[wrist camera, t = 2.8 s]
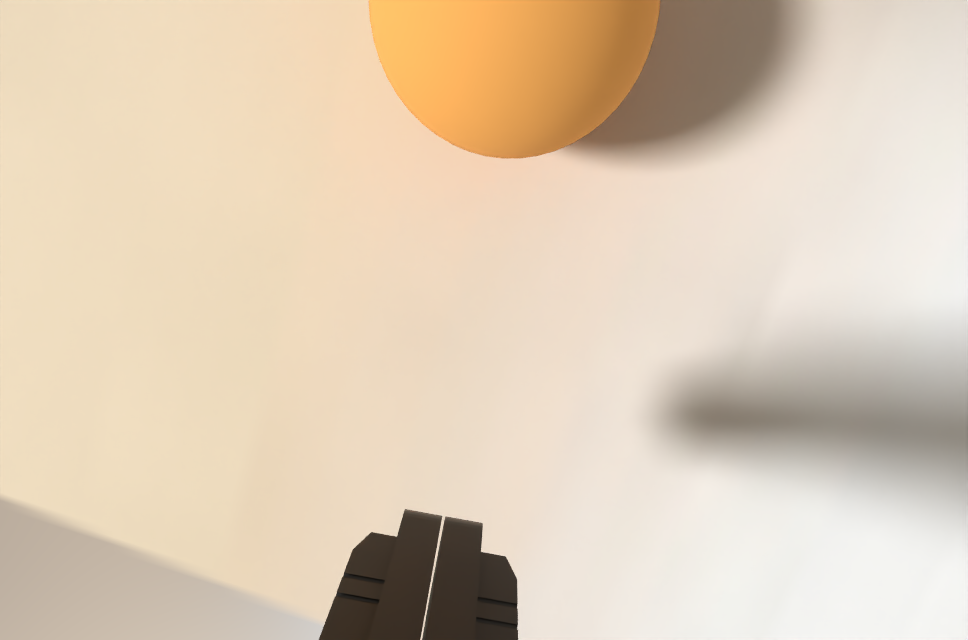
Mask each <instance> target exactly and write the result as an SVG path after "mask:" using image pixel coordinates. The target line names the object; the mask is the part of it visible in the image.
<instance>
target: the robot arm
mask: <svg viewBox="0 0 968 640" xmlns="http://www.w3.org/2000/svg"><path fill="white" fill-rule="evenodd" d="M441 520H442V516H440V515H434V514H429V513H423V512H418V511H412V510H407V509H405V511H404V514H403V518H402V521H401V525H400V528H399V532H398V536H397V537H395V536H389V535H384V534H378V533H373V532H371V533H370V534H369V535H368V536H367V537H366V538H365V539H364V540H363V541H362V542H360V543H359V544H358V545H357V546H356V547H355V548H354V549H353V551H352V553H351V556H350V558H349V561H348V564H347V566H346V569H345V572H344V576H343V577H342V580H341V582H340V585H339V588H338V590H337V594H336V597H335V598H334V601H333V604H332V606H331V609H330V612H329V614H328V617H327V619H326V622H325V625H324V627H323V630H322V633H321V635H320V638H319V640H420V638H421V632H422V627H423V621H424V615H425V610H426V604H427V598H428V593H429V587H430V582H431V576H432V570H433V565H434V559H435V553H436V548H437V542H438V537H439V531H440V525H441ZM482 527H483V525H482V523H479V522H473V521H468V520H462V519H457V518H451V517H446V516H445V521H444V526H443V531H442V536H441V541H440V547H439V552H438V557H437V562H436V567H435V572H434V577H433V583H432V588H431V593H430V599H429V604H428V610H427V615H426V621H425V627H424V633H423V638H422V640H518V630H517V625H518V611H517V578H516V576H515V574H514V572H513V570H512V568H511V566H510V564H509V562H508V560H507V558H506V557H505V556H500V555H494V554H489V553H483V552H481V542H482Z"/></svg>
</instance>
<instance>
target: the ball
mask: <svg viewBox="0 0 968 640" xmlns="http://www.w3.org/2000/svg"><path fill="white" fill-rule="evenodd" d="M659 10H660V0H369V12H370V22H371V28H372V33H373V39H374V43H375V46H376V50H377V53H378V56H379V59H380V62H381V64H382V67H383V69H384V71H385V73H386V76H387V78H388V80H389V82H390V83H391V85H392V87H393V88H394V90H395V92H396V93H397V95H398V96H399V98H400V99H401V100H402V102H403V103H404V104H405V106H406V107H407V108H408V110H409V111H410V112H411V113H412V114H413V115H414V116H415V117H416V118H417V119H418V120H419V121H420V122H421V123H422V124H423V125H425V126H426V127H427V128H428V129H430V130H431V131H432V132H434V133H435V134H436V135H438V136H439V137H441V138H443V139H444V140H446V141H448V142H449V143H451V144H453V145H455V146H457V147H460V148H462V149H464V150H467V151H469V152H473V153H476V154H480V155H484V156H489V157H496V158H526V157H533V156H538V155H542V154H546V153H549V152H553V151H556V150H558V149H560V148H563V147H565V146H567V145H570V144H572V143H574V142H575V141H577V140H579V139H581V138H582V137H584V136H586V135H587V134H589V133H590V132H591V131H593V130H594V129H595V128H596V127H598V126H599V125H600V124H602V123H603V122H604V121H605V120H606V119H607V118H608V117H609V116H610V115H611V114H612V113H613V112H614V111H615V110H616V109H617V107H618V106H619V105H620V104H621V102H622V101H623V100H624V99H625V97H626V96H627V95H628V93H629V92H630V90H631V88H632V87H633V85H634V84H635V82H636V80H637V79H638V77H639V75H640V73H641V71H642V68H643V66H644V64H645V62H646V60H647V57H648V54H649V51H650V48H651V45H652V42H653V39H654V36H655V32H656V27H657V22H658V17H659Z"/></svg>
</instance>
